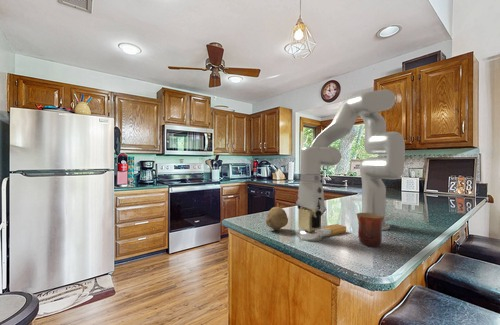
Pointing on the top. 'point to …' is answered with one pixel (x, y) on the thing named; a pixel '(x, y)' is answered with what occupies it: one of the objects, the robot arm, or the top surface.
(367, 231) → the mug
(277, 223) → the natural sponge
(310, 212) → the beige wooden block
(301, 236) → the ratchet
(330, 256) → the top surface
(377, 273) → the top surface
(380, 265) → the top surface
